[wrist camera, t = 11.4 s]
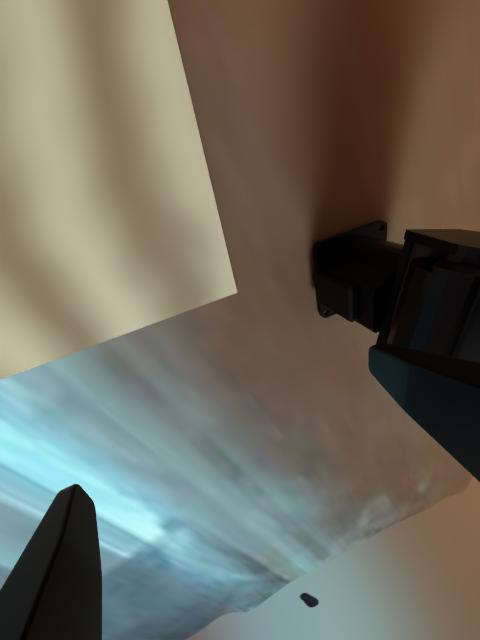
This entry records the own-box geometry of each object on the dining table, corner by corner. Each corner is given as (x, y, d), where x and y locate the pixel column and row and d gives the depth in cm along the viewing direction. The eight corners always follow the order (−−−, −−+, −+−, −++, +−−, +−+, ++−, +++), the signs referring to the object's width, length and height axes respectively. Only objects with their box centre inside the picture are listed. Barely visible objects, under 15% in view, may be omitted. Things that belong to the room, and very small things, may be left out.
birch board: (136, -102, 12) (138, -122, 11) (232, 287, 21) (237, 292, 20) (-609, -70, 8) (-694, -98, 7) (-89, 404, 17) (-100, 416, 16)
